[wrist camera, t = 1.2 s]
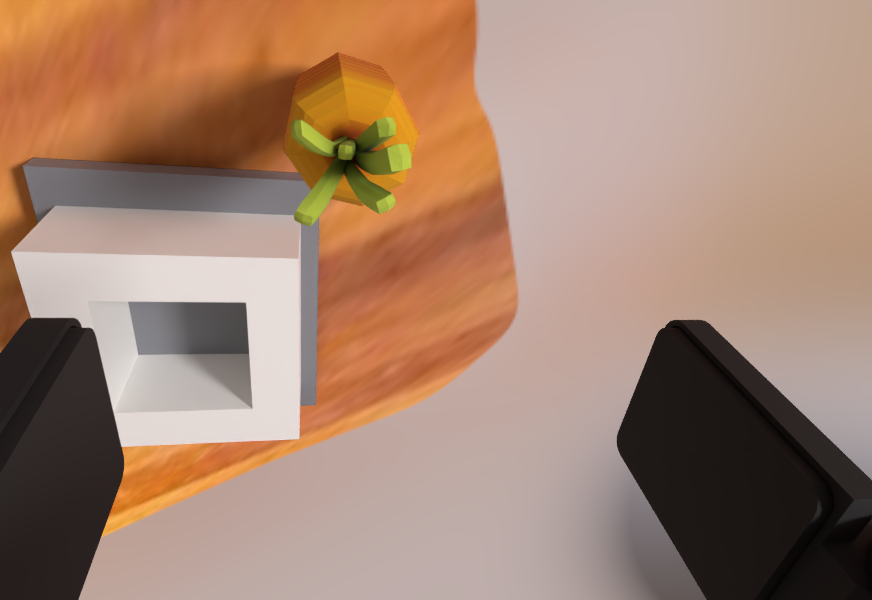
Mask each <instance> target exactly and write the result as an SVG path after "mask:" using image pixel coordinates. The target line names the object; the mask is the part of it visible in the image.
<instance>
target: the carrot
mask: <svg viewBox="0 0 872 600" xmlns="http://www.w3.org/2000/svg"><path fill="white" fill-rule="evenodd" d="M418 137H419V130H418V128H417V126H416V124H415V122H414V120H413V118H412V116H411V114H410V113H409V111H408V109H407V107H406V105H405V103H404V101H403V99H402V97H401V95H400V93H399V91H398V89H397V87H396V86H395V84H394V82H393V81H392V79H391V78H390V76H389V75H388V73H387V72H386V71H385V70H384V69H383V68H382V67H381V66H378V65H375V64H372V63H369V62H366V61H363V60H360V59H356V58H353V57H350V56H347V55H344V54H341V53H336V54H335V55H333V56H331V57H329V58H328V59H326V60H324V61H323V62H321V63H319V64H318V65H316V66H314V67H312V68H311V69H309V70H307V71H306V72H304V73H302V74H301V75H299V77H298V80H297V82H296V85H295V89H294V93H293V98H292V103H291V108H290V113H289V118H288V123H287V129H286V134H285V139H284V144H283V150H284V152H285V153H286V155H287V156H288V158H289V159H290V161H291V162H292V164H293V165H294V166H295V168H296V169H297V171H298V172H299V174H300V175H301V177H302V178H303V180H304V181H305V182H306V184H307V185H308V187H309V188H310V190H311V191H310V193H309V194H308V195H307V196H306V198H305V199H304V200H303V201H302V203H301V204H300V206H299V207H298V209H297V210H296V212H295V214H294V220H295V221H297V222H299V223H300V224H302V225H306V226H312V225H313V224H314V223H315V222H316V221H317V219H318V218H319V216H320V215H321V214H322V212H323V211H324V209H325V208H326V206H327V205H328V203H329V201H330V199H334V200H338V201H342V202H347V203H351V204H355V205H360V206H363V205H366V206H367V207H369V208H370V209H372V210H373V211H375V212H377V213H379V214H381V213H384V212H386V211H389V210H390V209H391V208H392V207H394V206H395V198H394V196H393V194H392V193H390V192H389V191H391V190H392V189H394V188H396V187H398V186H400V185H401V184H403V183H404V182H405V179H406V175H407V172H408V169H409V168H411V159H412V156H413V153H414V150H415V146H416V143H417V140H418Z"/></svg>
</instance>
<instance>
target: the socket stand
mask: <svg viewBox="0 0 872 600" xmlns="http://www.w3.org/2000/svg"><path fill="white" fill-rule="evenodd" d="M23 170H24V174H25V177H26V181H27V185H28V188H29V192H30V196H31V200H32V203H33V207H34V211H35V215H36V218H37V222H38V224H37V225H36V226H35V227H34V228H33V229H32V230H31V231H30V232H29V233H28V235H27V236H26V237H25V238H24V239H23V240H22V241H21V242H20V243H19V244H18V245H17V246H16V247H15V248H14V249H13V250H12V251H11V253H12V257H13V260H14V263H15V266H16V270H17V273H18V276H19V280H20V283H21V286H22V290H23V293H24V296H25V299H26V303H27V306H28V309H29V313H30V316H31V318H76V319H78V321H79V322H80V323H81V326H82V328H92V329H93V330H94V332H95V335H96V338H97V343H98V347H99V351H100V356H101V360H102V364H103V369H104V373H105V377H106V382H107V386H108V390H109V395H110V399H111V403H112V408H113V412H114V416H115V421H116V425H117V429H118V434H119V438H120V442H121V447H126V446H149V445H172V444H195V443H218V442H241V441H264V440H287V439H299V427H300V406H305V405H316V369H317V311H318V253H319V218H318V219H317V221H316V222H315V223H314V224H313V225H312V226H306V225H302V224H300V223H299V222H297V221H295V220H294V214H295V212H296V210H297V209H298V207H299V206H300V204H301V203H302V201H303V200H304V199H305V198H306V196H307V195H308V194H309V193H310V191H311V190H310V188H309V187H308V185H307V184H306V182H305V181H304V180H303V178H302V177H301V175H300V174H299V173H292V172H274V171H257V170H239V169H222V168H204V167H187V166H169V165H152V164H134V163H116V162H99V161H81V160H64V159H46V158H32V159H31V160H29V161H28V162H27V163H25V164H24V165H23Z"/></svg>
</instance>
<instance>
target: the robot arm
mask: <svg viewBox="0 0 872 600" xmlns="http://www.w3.org/2000/svg"><path fill="white" fill-rule="evenodd" d="M617 447H618V451H619V453H620V455H621V457H622V458H623V460H624V462H625V463H626V465H627V467H628V468H629V470H630V472H631V473H632V475H633V477H634V478H635V480H636V482H637V483H638V485H639V487H640V489H641V490H642V492H643V493H644V495H645V497H646V499H647V500H648V502H649V504H650V505H651V507H652V509H653V510H654V512H655V514H656V515H657V517H658V519H659V520H660V522H661V524H662V525H663V527H664V529H665V530H666V532H667V534H668V535H669V537H670V539H671V540H672V542H673V544H674V545H675V547H676V549H677V550H678V552H679V554H680V555H681V557H682V559H683V560H684V562H685V564H686V566H687V567H688V569H689V571H690V572H691V574H692V575H693V577H694V579H695V581H696V582H697V584H698V586H699V587H700V589H701V591H702V592H703V594H704V595H705V597H706V599H707V600H872V480H871V479H870V478H869V477H868V476H867V475H866V474H865V473H864V472H862V470H860V469H859V468H858V467H857V466H856V465H855V464H854V463H853V462H852V461H851V460H850V459H849V458H848V457H847V456H846V455H845V454H844V453H843V452H842V451H841V450H840V449H839V448H838V447H837V446H836V445H835V444H834V443H833V442H832V441H830V440H829V439H828V438H827V437H826V436H825V435H824V434H823V433H822V432H821V431H820V430H819V429H818V428H817V427H816V426H815V425H814V424H813V423H812V422H811V421H810V420H809V419H808V418H807V417H806V416H805V415H803V414H802V413H801V412H800V411H799V410H798V409H797V408H796V407H795V406H794V405H793V404H792V403H791V402H790V401H789V400H788V399H787V398H786V397H785V396H784V395H783V394H782V393H781V392H780V391H779V390H778V389H777V388H775V387H774V386H773V385H772V384H771V383H770V382H769V381H768V380H767V379H766V378H765V377H764V376H763V375H762V374H761V373H760V372H759V371H758V370H757V369H755V367H754V366H753V365H751V364H750V363H749V362H748V361H747V360H746V359H745V358H744V357H743V356H742V355H741V354H740V353H739V352H738V351H737V350H736V349H735V348H734V347H733V346H732V345H731V344H730V343H729V342H728V341H727V340H726V339H725V338H724V337H722V335H720V334H719V333H718V332H717V331H716V330H715V329H714V328H713V327H712V326H711V325H710V324H709V323H707V322H706V321H702V320H673V321H670V322H669V323H668V324H667V325H666V327H665V328H663V329H661V330H660V331H659V332H658V334H657V336H656V338H655V341H654V343H653V346H652V348H651V351H650V354H649V356H648V358H647V361H646V364H645V366H644V369H643V371H642V374H641V376H640V379H639V381H638V384H637V386H636V389H635V391H634V394H633V396H632V399H631V401H630V404H629V407H628V409H627V411H626V414H625V417H624V419H623V422H622V424H621V426H620V429H619V432H618V435H617ZM123 471H124V456H123V451H122V447H121V442H120V438H119V434H118V429H117V425H116V421H115V416H114V412H113V408H112V403H111V399H110V395H109V390H108V386H107V382H106V377H105V373H104V369H103V364H102V360H101V356H100V351H99V347H98V343H97V338H96V335H95V332H94V330H93V329H92V328H82V326H81V323H80V322H79V321H78V319H76V318H30V319H28V320H26V321H25V322H24V323H23V325H22V326H21V327H20V329H19V330H18V331H17V332H16V334H15V335H14V336H13V338H12V339H11V340H10V341H9V343H8V344H7V345H6V347H5V348H4V349H3V351H2V352H1V353H0V600H78V599H79V596H80V593H81V591H82V588H83V585H84V582H85V580H86V577H87V574H88V571H89V569H90V566H91V563H92V560H93V557H94V555H95V552H96V549H97V547H98V544H99V541H100V538H101V536H102V533H103V530H104V527H105V525H106V522H107V519H108V516H109V514H110V511H111V508H112V505H113V503H114V500H115V497H116V494H117V492H118V489H119V486H120V483H121V480H122V477H123Z"/></svg>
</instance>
